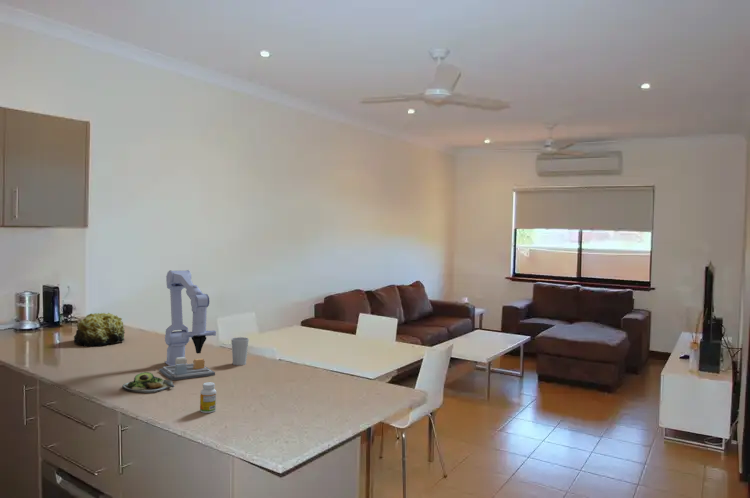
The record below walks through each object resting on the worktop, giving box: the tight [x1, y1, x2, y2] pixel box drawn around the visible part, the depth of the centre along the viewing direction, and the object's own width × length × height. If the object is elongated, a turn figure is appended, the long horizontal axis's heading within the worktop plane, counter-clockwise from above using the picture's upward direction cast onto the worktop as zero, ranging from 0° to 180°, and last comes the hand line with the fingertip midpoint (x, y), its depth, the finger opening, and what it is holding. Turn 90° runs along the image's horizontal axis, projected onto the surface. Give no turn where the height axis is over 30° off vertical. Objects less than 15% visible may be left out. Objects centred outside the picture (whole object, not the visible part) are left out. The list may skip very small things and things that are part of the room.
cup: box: [231, 336, 250, 366], centre depth 267 cm, size 8×8×12 cm
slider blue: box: [175, 364, 187, 375], centre depth 238 cm, size 3×4×5 cm
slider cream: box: [175, 356, 188, 366], centre depth 249 cm, size 3×4×5 cm
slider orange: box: [192, 357, 206, 369], centre depth 248 cm, size 3×4×5 cm
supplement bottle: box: [199, 381, 217, 414], centre depth 197 cm, size 5×5×10 cm
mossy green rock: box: [73, 312, 126, 348], centre depth 301 cm, size 25×24×16 cm
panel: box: [158, 363, 216, 382], centre depth 246 cm, size 18×19×2 cm
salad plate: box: [121, 371, 175, 394], centre depth 223 cm, size 19×18×5 cm
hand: (198, 353), depth 243 cm, fingers closed
